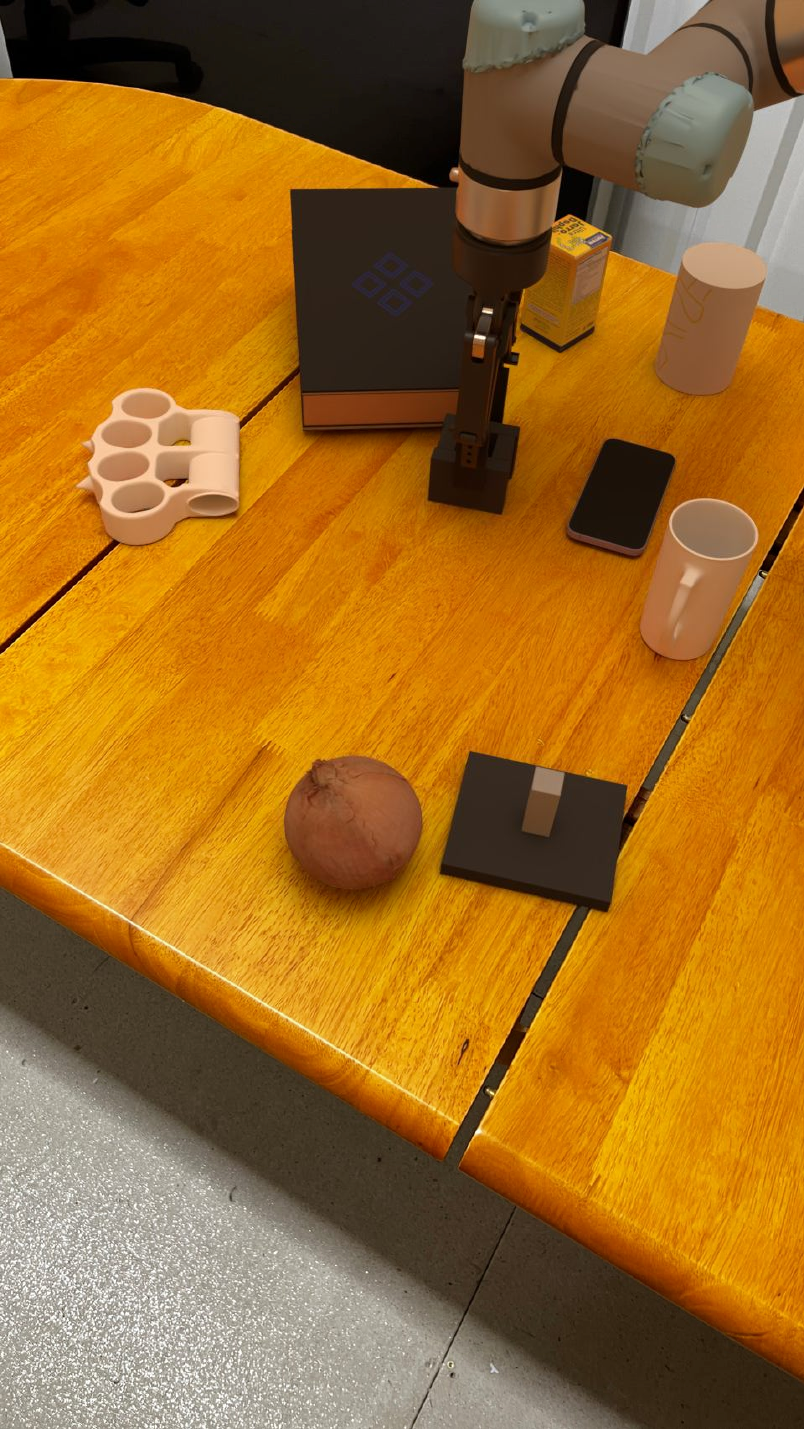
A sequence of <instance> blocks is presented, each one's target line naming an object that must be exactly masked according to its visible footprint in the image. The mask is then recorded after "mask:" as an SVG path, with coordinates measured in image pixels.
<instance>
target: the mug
mask: <svg viewBox="0 0 804 1429" xmlns="http://www.w3.org/2000/svg"><path fill="white" fill-rule="evenodd" d="M669 516H670V517H669V519H668V523H667V526H666V529H665V532H664V534H663V539H662V543H661V546H660V549H659V553H658V557H657V560H656V564H655V568H654V571H653V575H652V578H651V581H650V585H649V587H648V588H649V589H648V592H647V595H646V599H645V602H644V606H643V611H642V615H641V619H640V622H639V623H640V624H639V632H640V635H641V638H642V639H643V641H644V643H646V645H647V646H648V647H649V648H650V649H651V650H652V651H654V652H655V653H656V654H658V655H660V656H662V657H665V658H668V659H672V660H677V661H691V660H694V659H698V658H700V657H703V655H705V654H706V653H708V651H709V650H710V649H711V648H712V646H713V644H714V642H715V640H716V638H717V635H718V633H719V632H720V630H721V627H722V625H723V623H724V620H725V618H726V616H727V613H728V611H729V608H730V606H731V604H732V602H733V599H734V597H735V595H736V593H737V591H738V588H739V586H740V583H741V582H742V579H743V577H744V575H745V573H746V571H747V568H748V566H749V564H750V561H751V559H752V556H753V554H754V552H755V549H756V546H757V545H758V542H759V530H758V527H757V525H756V523H755V521H754V519H752V517H751V516H750V515H749V514H747V512H746V511H745V510H743V509H742V508H740V507H738V506H737V505H734V504H733V503H731V502H728V501H726V500H722V499H717V498H708V497H707V498H705V497H704V498H703V497H702V498H701V497H700V498H694V499H690V500H687V501H683V502H682V503H680V504H679V505H678V506H676V507H675V508H674V509H673V511H672V512H671V514H670V515H669Z"/></svg>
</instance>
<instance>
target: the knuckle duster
mask: <svg viewBox="0 0 804 1429" xmlns="http://www.w3.org/2000/svg"><path fill="white" fill-rule="evenodd" d="M110 403H111V404H110V405H111V409H112V412H111V414H110V415H109V416H108V418H107V419H106V420H105V421H103V422H102V423H100V424H98V425H97V426H96V429H95V430H94V432H93V434H92V436H91V438H90V439H89V440H87V441H83V442H82V443H80V445H81V446H82V447H84V448H85V449H87V450H88V451H89V452H90V453H92V454H93V455H92V457H91V458H90V460H89V461H88V462H87V470H88V472H89V474H88V476H86V477H85V478H84V479H83V480H81V481H80V482H79V483H77V484H76V485H75V486H74V488H75V489H78V490H83V491H86V492H89V493H93V494H94V496H95V500H96V503H97V504H98V505H99V509H100V510H99V511H100V514H101V518H102V522H103V526H104V530H105V531H106V533H107V534H108V535H109V537H110V538H112V539H113V540H115V541H117V542H118V543H122V544H124V545H129V546H144V545H149V544H153V543H155V542H157V541H160V540H162V539H164V538H165V537H166V536H167V535H168V534H170V532H172V530H173V528H174V527H175V525H176V524H177V523H179V522H181V521H182V520H185V519H187V518H199V517H200V518H202V517H220V516H224V515H229V514H232V513H233V512H236V511H237V510H238V509H239V507H240V466H241V464H240V433H241V424H240V418H239V417H238V416H237V415H235V413H232V412H229V411H226V410H220V409H207V408H204V409H186V408H184V407H183V406H180V405H177V402H176V401H175V399H174V398H173V397H172V396H171V395H170V394H169V393H167V392H165V391H162V390H160V389H156V388H150V387H141V388H133V389H129V390H127V391H124V392H122V393H120V394H118V395H117V396H116V397H114V398H113V400H111V402H110ZM179 441H187V442H190V443H189V445H175V444H176V443H177V442H179ZM186 479H187V480H188V483H182V484H181V485H179V486H175V487H171V486H169V485H167V483H166V482H165V481H168V480H186Z"/></svg>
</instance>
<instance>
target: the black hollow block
mask: <svg viewBox="0 0 804 1429" xmlns="http://www.w3.org/2000/svg"><path fill="white" fill-rule="evenodd" d="M455 420H456V415H454V414H449V413H446V416H445V419H444V421H443V427H441V433H440V436H439V439H438V442H437V446H434V448H433V450H432V452H431V456H430V463H429V473H428V474H429V476H428V488H427V501H429V502H430V501H431V502H435V503H441V504H446V505H451V506H455V507H461V508H466V509H470V510H477V511H481V512H487V513H492V514H498V515H503V511H504V508H505V505H506V500H507V499H506V498H507V492H508V485H509V482H510V480H512V479H513V476H514V475H513V474H514V471H515V468H516V467H515V466H516V460H517V454H518V447H519V440H520V433H521V426H519V425H515V424H514V425H513V424H508V423H504V422H503V423H497V422H492V421H489V426H488V429H491V431H490V439H489V448H488V456H487V465H486V473H485V481H484V488H483V491H482V492H478V491H473V490H468V489H463V488H457V487H453V479H454V467H455V456H456V444H457V442H454V441H453V437H452V436H453V433H449V426H450V425H451V423H452V424H455Z"/></svg>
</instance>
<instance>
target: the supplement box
mask: <svg viewBox="0 0 804 1429" xmlns="http://www.w3.org/2000/svg"><path fill="white" fill-rule="evenodd" d="M612 242H613V236H612V235H611V234H609V233H608V232H605V231H603V230H601V229H599V228H597V227H595V226H593V225H591V224H589V223H587V222H586V221H584V220H583V219H580V218H579V217H577V216H574V215H572V214H567V215H565V216H563V217H561V218H559V219H558V220H556V221H554V223H553V224H552V238H551V245H550V251H549V258H548V265H547V270H546V272H545V274H544V276H543V277H542V278H541V279H540V280H539V281H538V282H537V283H536V284H534V285H533V286H531V287H529V288H526V289H524V293H523V294H524V296H523V303H522V310H521V317H520V326H519V330H521V331H522V332H524V333H526V334H528V335H529V336H531V337H533V338H535V339H536V340H537V341H539V340H540V341H539V342H541V343H543V344H544V345H546V346H548V347H550V348H552V350H553V349H554V350H555V351H557V352H559V353H561V352H563V351H564V350H566V349H568V348H569V347H571V346H572V345H574V344H575V343H577V342H579V341H581V340H583V339H584V338H585V337H587V336H588V335H590V334H591V333H593V332H594V331H595V329H596V324H597V318H598V314H599V308H600V302H601V299H602V298H601V297H602V292H603V287H604V282H605V276H606V272H607V268H608V263H609V262H608V261H609V257H610V251H611V246H612Z"/></svg>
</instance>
